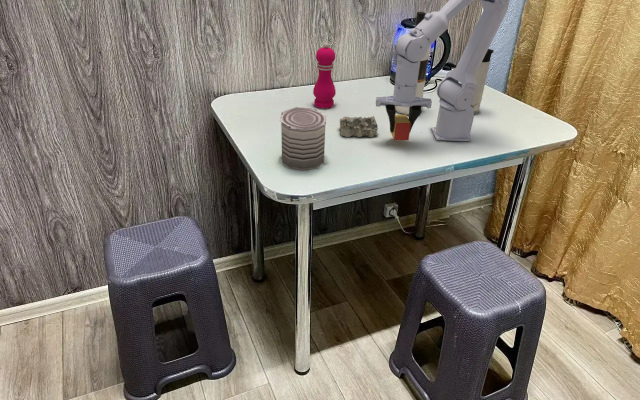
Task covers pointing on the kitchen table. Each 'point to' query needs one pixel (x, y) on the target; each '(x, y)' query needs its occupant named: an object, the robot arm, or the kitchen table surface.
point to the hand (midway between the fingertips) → (399, 131)
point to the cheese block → (401, 127)
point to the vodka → (421, 74)
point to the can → (303, 138)
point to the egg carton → (358, 126)
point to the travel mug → (481, 80)
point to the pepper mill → (324, 78)
